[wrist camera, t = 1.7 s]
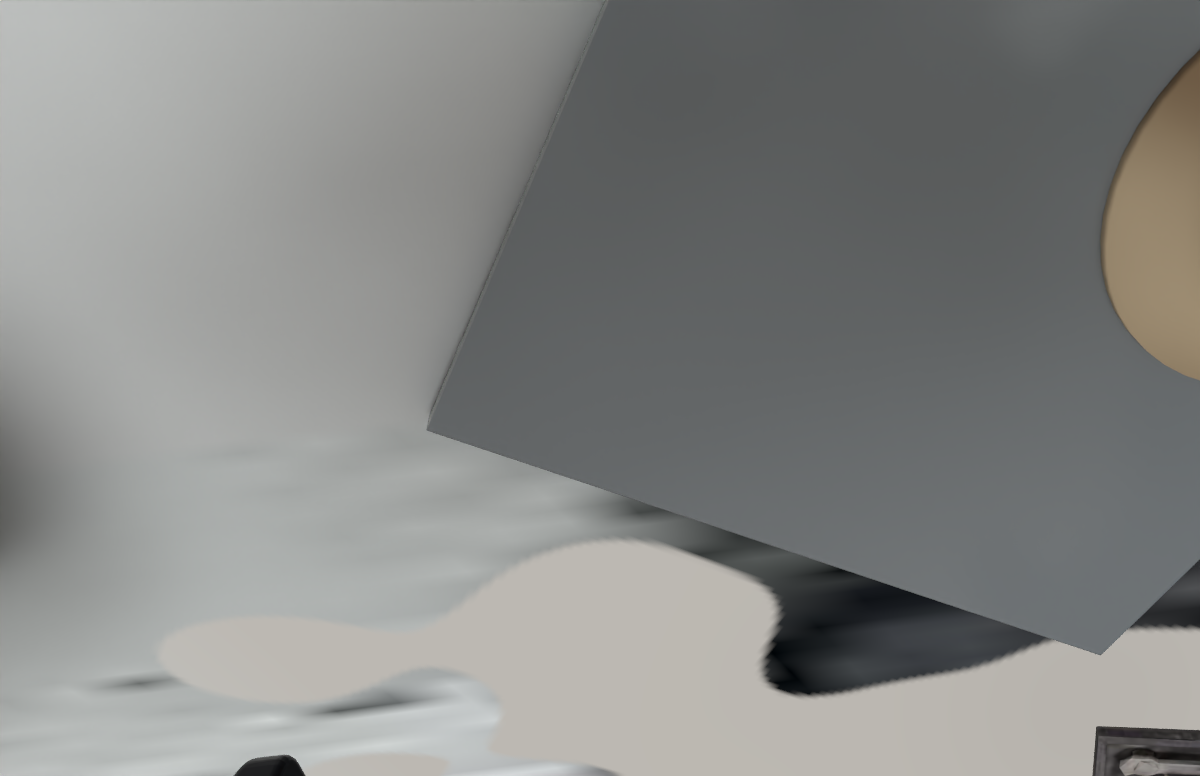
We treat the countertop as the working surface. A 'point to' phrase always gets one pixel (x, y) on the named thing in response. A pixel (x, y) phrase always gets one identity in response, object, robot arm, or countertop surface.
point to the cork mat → (1159, 227)
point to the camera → (1146, 752)
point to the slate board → (854, 296)
